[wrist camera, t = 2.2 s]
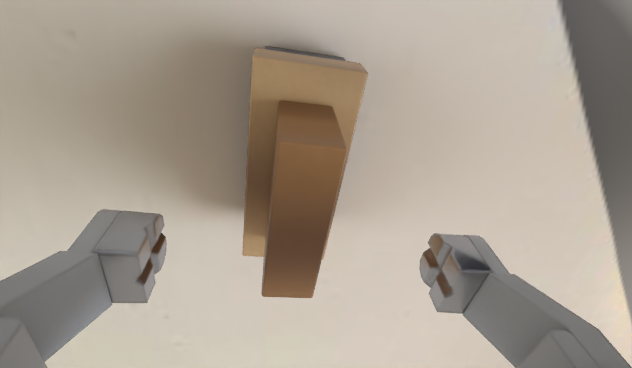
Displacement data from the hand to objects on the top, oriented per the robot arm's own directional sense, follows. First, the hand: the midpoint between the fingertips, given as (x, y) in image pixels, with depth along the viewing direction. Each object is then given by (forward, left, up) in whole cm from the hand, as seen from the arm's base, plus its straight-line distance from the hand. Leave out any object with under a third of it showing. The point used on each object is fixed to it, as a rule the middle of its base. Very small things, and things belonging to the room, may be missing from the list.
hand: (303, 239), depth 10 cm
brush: (0, 0, -6) cm, 6 cm away
